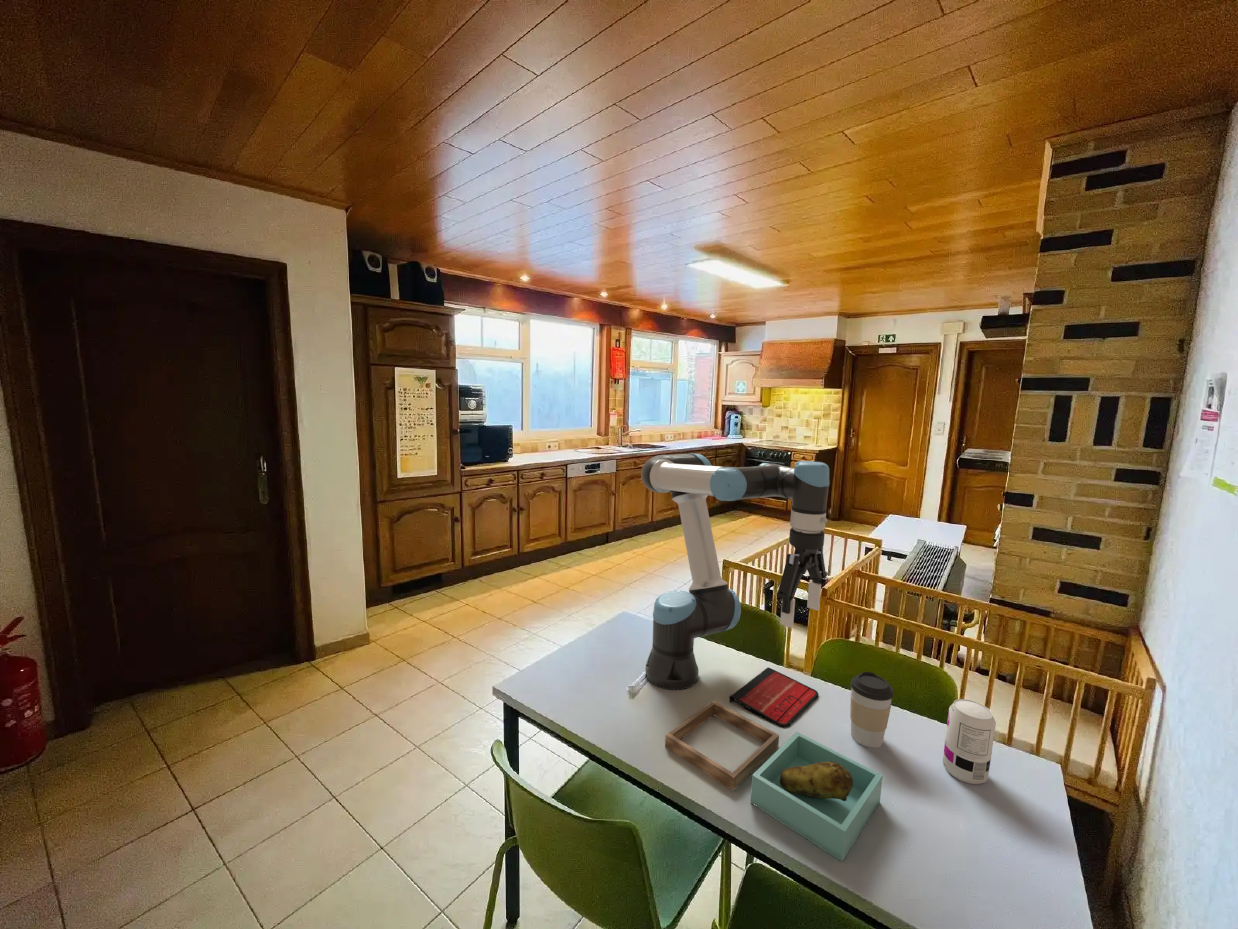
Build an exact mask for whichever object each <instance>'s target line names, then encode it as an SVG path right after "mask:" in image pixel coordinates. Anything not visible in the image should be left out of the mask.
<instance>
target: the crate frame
mask: <svg viewBox="0 0 1238 929" xmlns="http://www.w3.org/2000/svg"><path fill="white" fill-rule="evenodd" d="M713 716H715V717H717V718H719V719H720V720H723V721H724V722H726V723H728V724H730V725H731V726H733V727H735V728H737V729H739V730H741V731H742V732H745V733H746V734H748V735H750V736H752V737H754V738H755V739H757V740H759V741H761V742H763V744H762V745H761V746H760V747H758V748H757V749H756V750H755V751H754V752H753V753H752V754H751V755H750V756H749V757H748V758H746V760H744V762H742V763H741V764H740V765H739V766H738V767H736V769H735V770H733V771H730V770H729V769H727V768H725V767H724V766H722V765H721V764H720V763H718V762H716V761H714V760H713V759H712V758H710V757H709V756H706V755H704V754H703V753H702V752H700V751H698V750H697V749H695V748H694V747H692V746H691V745H689V744H687V743H686V742H684V741H682V739H684V738H685V737H687V736H688V735H689V734H690V733H692V732H693V731H695V730H696V729H697V728H698V727H700V726H701V725H702V724H704V723H705V722H707V721H708V720H709V719H711V718H712V717H713ZM779 740H780V734H778V733H776V732H774V731H772V730H770V729H768V728H767V727H765V726H763V725H761V724H759V723H757V722H755V721H754V720H752V719H750V718H748V717H746V716H744V715H742V714H740V713H738V712H736V711H734V710H732V709H730V708H729V707H727V706H724V705H723V704H721V703H719V702H717V701H716V700H712V701H711V702H709V703H708V704H707V705H705V706H703V707H702V708H701V709H699V710H698V711H697V712H696V713H694V714H693V715H691V716H690V717H688V718H686V719H685V720H684V721H683V722H681V723H680V724H678V725H677V726H676V727H674V728H673V729H671V730H670V731H669V732H667V733H666V734H665V740H664V741H665V743H664V746H665V748H667V749H668V750H670V751H671V752H673V753H674V754H676V755H677V756H679V757H680V758H681V759H683V760H685V761H686V762H687V763H690V764H691V765H692V766H694V767H695V768H697V769H699V770H700V771H701V772H703V773H705V774H706V775H708V776H709V777H711V778H712V779H713V780H716V781H717V782H718V783H720V784H722V786H725V787H726V788H727V789H729V790H731V791H732V790H734V789H735V788H736V787H737V788H738V787H739V786H740V785H741V784H742V783H743V782H744V781H745V780H746V779H747V778H749V776H750V775H752V773H753V772H755V770H756V769H757V768H759V767H760V766H761V764H762V763H764V761H765V760H767V759H769V758H770V757H771V756H772V755H773V754H774V753H775V751H777V750H778V748H779V746H780V745H779V743H780V741H779ZM738 785H739V786H738ZM737 788H736V789H737ZM734 791H735V790H734Z"/></svg>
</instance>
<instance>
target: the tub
mask: <svg viewBox="0 0 1238 929" xmlns="http://www.w3.org/2000/svg"><path fill="white" fill-rule="evenodd" d="M778 748H779V749H778ZM778 748H777V749H776V750H775V751H776V752H775V751H774V752H773V753H772V754H771V755H770V756H769V757H768V758H767V759H766V761H765V762H763V764H762V765H760V766H759V767H758V769H757V770H756V771H754V773H753V774H751V776H752V777H751V788H750V790H751V791H750V801H751V802H752V803H753V804H752V803H751V802H750V803H751V804H752V805H754V804H755V805H757V806H758V807H759V809H760V810H761V809H762V810H761V811H763V812H764V811H765V812H764V813H766V812H767V813H766V814H768V815H769V814H770V815H769V816H771V817H772V818H774V819H775V818H776V819H775V820H777V821H778V822H780V823H781V822H782V823H781V824H783V825H784V826H786V827H787V826H788V828H789V829H790V828H791V829H790V830H792V829H793V830H792V831H793V832H795V833H797V834H798V835H800V836H801V835H802V836H801V837H803V838H804V839H806V838H807V839H808V841H809V842H810V843H812V842H813V843H814V845H815V844H816V845H815V846H817V847H818V848H820V849H821V850H823V851H824V852H826V853H827V852H828V854H829V855H831V856H832V857H833V856H834V858H835V859H836V860H838V861H840V862H841V863H843V861H844V860H845V858H846V857H847V855H848V854H849V852H850V850H851V849H852V847H853V845H854V844H855V842H856V841H857V839H858V838H859V836H860V835H861V833H862V831H863V830H864V828H865V827H866V825H867V823H868V822H869V820H870V819H871V817H872V815H873V814H874V812H875V811H876V809H877V808H878V806H879V805H880V803H881V795H882V787H883V786H882V785H883V778H884V777H883V776H884V775H883V774H881V773H879V772H877V771H876V770H874V769H872V768H869V767H867V766H865V765H863V764H861V763H860V762H857V760H856V761H855V760H853V759H851V758H850V757H848V756H846V755H844V754H842V753H840V752H838V751H836V750H834V749H832V748H830V747H828V746H826V745H824V744H822V743H820V742H818V741H816V740H815V739H814V740H813V739H812V738H810V737H808V736H807V735H804V734H802V733H800V732H798V731H796V732H795V733H794V734H792V735H791V737H790V738H788V740H787V741H786V742H784V744H782V745H781V746H780V747H778ZM830 761H831V762H835V763H838V764H840V765H841V766H843V767H844V768H845V769H846V770H847V771H848V772H849V773H850V774H851V776H852V779H853V787H852V789H851V791H850V792H849V795H848V796H847V800H846V801H843V800H841V799H817V798H809V797H806V796H803V795H801V794H799V793H797V794H792V793H790V792H788V791H786V790H785V789H784V788H783V787H782V786H781V784H780V776H781V772H782V771H783V770H785V769H787V768H791V767H797V766H808V765H811V764H815V763H820V762H830ZM755 805H754V806H755ZM757 806H756V807H757ZM758 807H757V808H758ZM807 839H806V840H807ZM813 843H812V844H813Z"/></svg>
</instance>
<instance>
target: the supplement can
mask: <svg viewBox="0 0 1238 929" xmlns="http://www.w3.org/2000/svg"><path fill="white" fill-rule="evenodd" d="M996 725H997V722H996V720H995V718H994V714H993V712H992V711H991V709H990V708H988V707H987V706H986V705H984V704H982V703H980V702H977V701H974V700H971V699H967V698H966V699H965V698H962V699H961V698H958V699H955V700H954V701H953V703H952V704H951V705H949V708H948V715H947V724H946V730H945V739H944V747H943V754H942V765H943V766H944V768H945V769H946V771H948V773H949V774H950V775H951V776H952V777H953V778H956V779H957V780H959V781H961V782H964V783H965V784H966V783H967V784H970V785H980V784H983V783H986V782H987V781H988V779H989V775H990V774H989V773H990V766H991V761H992V754H993V745H994V740H995V733H996V732H995V730H996Z"/></svg>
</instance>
